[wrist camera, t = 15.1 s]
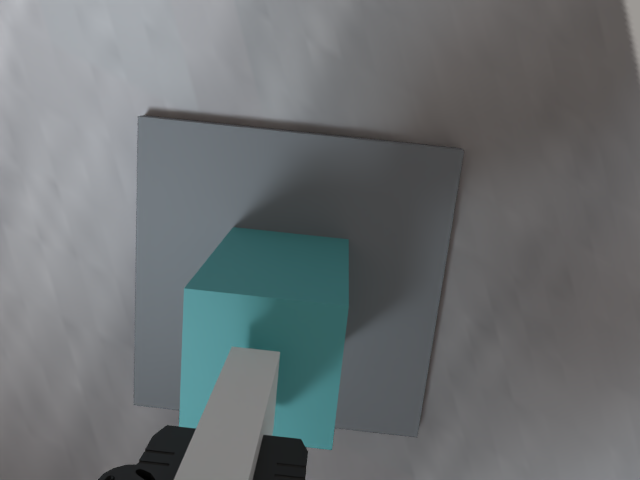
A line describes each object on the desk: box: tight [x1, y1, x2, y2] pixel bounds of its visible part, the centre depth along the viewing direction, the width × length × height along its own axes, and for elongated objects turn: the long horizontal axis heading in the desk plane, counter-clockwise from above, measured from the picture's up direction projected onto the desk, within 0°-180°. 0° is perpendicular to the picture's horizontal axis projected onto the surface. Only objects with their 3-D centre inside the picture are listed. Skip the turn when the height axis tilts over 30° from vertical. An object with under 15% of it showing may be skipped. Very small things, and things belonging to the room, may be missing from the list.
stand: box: [134, 115, 464, 437], centre depth 24 cm, size 14×14×7 cm
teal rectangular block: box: [179, 227, 349, 450], centre depth 23 cm, size 5×5×8 cm
